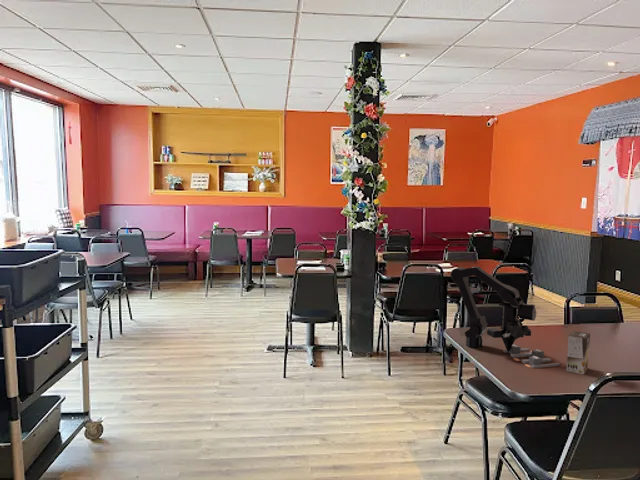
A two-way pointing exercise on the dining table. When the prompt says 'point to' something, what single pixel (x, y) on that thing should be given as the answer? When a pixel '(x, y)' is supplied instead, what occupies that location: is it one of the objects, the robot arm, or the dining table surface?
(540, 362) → the tab
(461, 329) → the dining table surface
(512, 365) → the dining table surface
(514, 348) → the tab
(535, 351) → the tab
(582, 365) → the coffee box
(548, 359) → the switch board
